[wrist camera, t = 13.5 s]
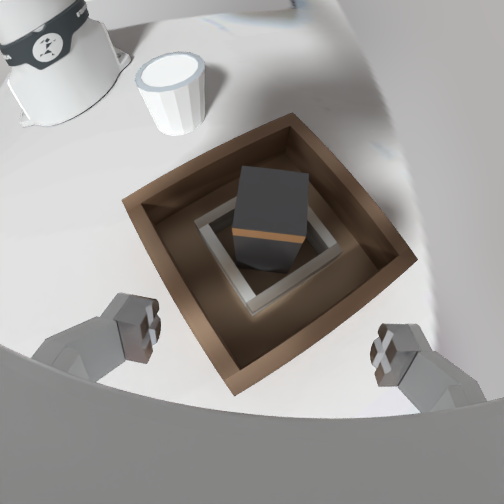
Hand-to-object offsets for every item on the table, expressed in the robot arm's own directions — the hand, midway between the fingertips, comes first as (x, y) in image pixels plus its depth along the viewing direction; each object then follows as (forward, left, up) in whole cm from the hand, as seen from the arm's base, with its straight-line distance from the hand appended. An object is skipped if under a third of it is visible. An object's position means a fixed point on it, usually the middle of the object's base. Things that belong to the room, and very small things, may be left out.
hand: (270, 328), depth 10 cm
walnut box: (-6, +5, -13) cm, 15 cm away
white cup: (-24, +6, -13) cm, 28 cm away
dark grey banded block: (-6, +5, -12) cm, 14 cm away
